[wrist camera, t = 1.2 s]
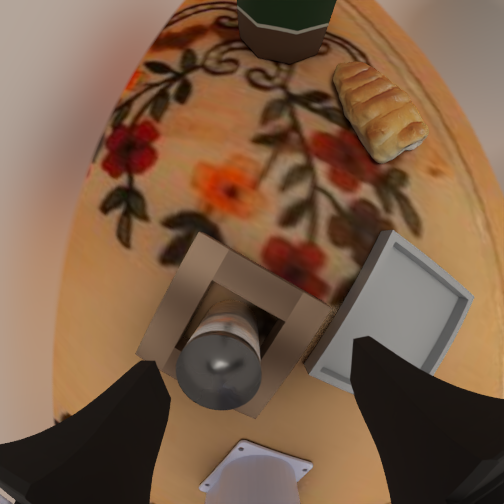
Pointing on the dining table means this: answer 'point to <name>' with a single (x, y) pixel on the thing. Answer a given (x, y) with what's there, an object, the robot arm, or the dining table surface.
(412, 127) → the pastry
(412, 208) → the dining table surface
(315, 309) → the eye block
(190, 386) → the steel pin
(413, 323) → the tray
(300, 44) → the beer bottle
